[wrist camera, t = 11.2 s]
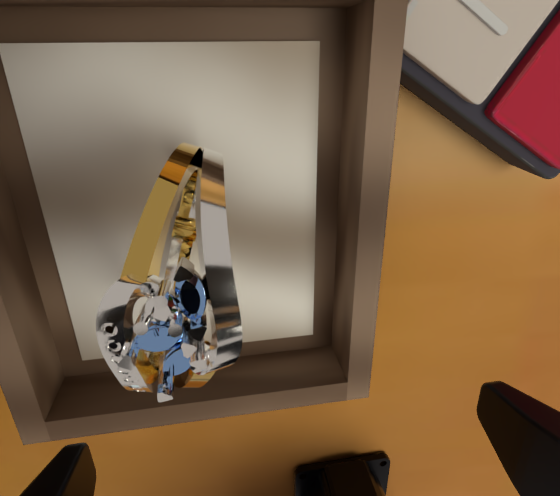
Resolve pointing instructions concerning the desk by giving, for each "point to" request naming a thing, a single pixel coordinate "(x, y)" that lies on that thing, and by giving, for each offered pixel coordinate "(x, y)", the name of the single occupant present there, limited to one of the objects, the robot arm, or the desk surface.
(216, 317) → the ring
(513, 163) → the calculator
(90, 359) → the base
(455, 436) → the desk surface
